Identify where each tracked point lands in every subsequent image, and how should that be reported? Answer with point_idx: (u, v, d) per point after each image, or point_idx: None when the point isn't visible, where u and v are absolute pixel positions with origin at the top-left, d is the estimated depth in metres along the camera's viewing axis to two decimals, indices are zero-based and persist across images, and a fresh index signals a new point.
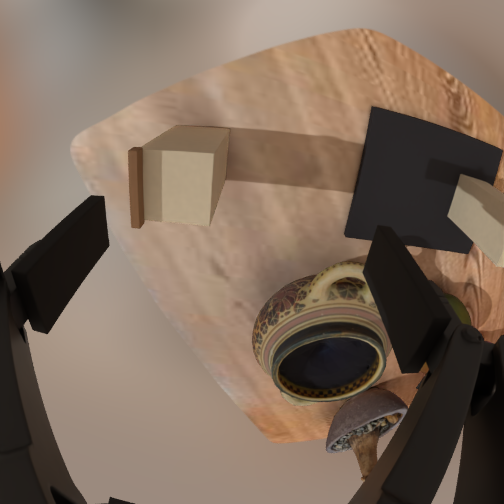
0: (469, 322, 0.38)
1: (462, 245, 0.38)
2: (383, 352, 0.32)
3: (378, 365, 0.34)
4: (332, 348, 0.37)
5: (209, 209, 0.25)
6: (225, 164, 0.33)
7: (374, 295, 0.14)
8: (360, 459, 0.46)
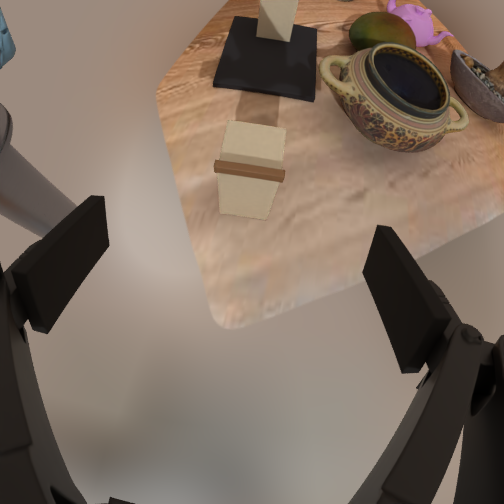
0: None
1: (310, 32, 0.49)
2: (383, 42, 0.35)
3: (398, 48, 0.35)
4: (400, 87, 0.38)
5: (271, 126, 0.31)
6: None
7: (374, 295, 0.14)
8: None
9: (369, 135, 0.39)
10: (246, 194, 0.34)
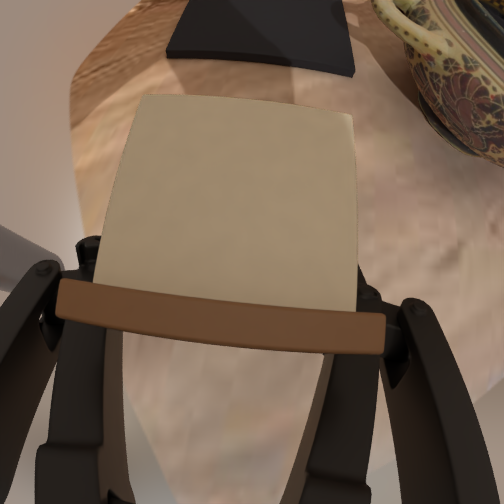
0: None
1: None
2: None
3: None
4: None
5: (301, 107, 0.08)
6: None
7: None
8: None
9: (477, 140, 0.16)
10: None
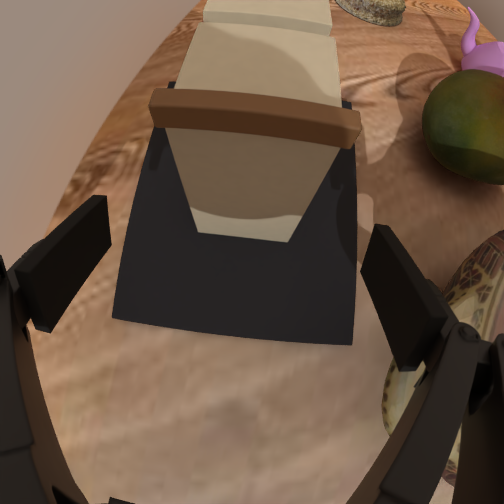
0: (453, 76, 0.20)
1: None
2: None
3: None
4: None
5: (302, 32, 0.11)
6: None
7: (372, 294, 0.14)
8: None
9: None
10: (247, 189, 0.14)
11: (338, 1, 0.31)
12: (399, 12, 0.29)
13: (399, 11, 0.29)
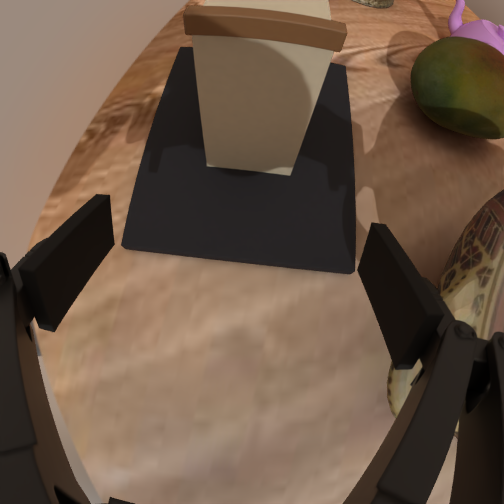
0: (437, 41, 0.21)
1: (335, 75, 0.26)
2: None
3: None
4: None
5: None
6: None
7: (369, 292, 0.14)
8: None
9: None
10: (255, 104, 0.15)
11: None
12: None
13: None
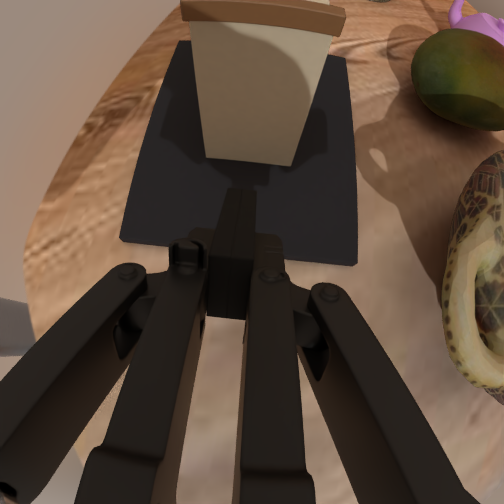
0: (437, 33, 0.20)
1: (335, 67, 0.25)
2: None
3: None
4: None
5: None
6: None
7: None
8: None
9: None
10: (254, 91, 0.15)
11: None
12: None
13: None
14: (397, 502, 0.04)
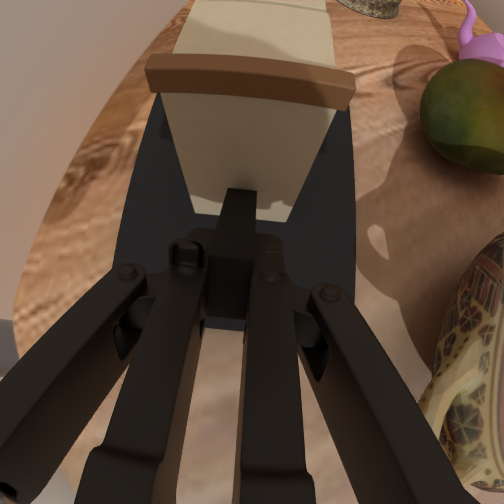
0: (450, 65, 0.19)
1: None
2: None
3: None
4: None
5: (296, 8, 0.11)
6: None
7: None
8: None
9: None
10: (243, 161, 0.14)
11: None
12: (395, 4, 0.28)
13: (395, 3, 0.28)
14: (397, 502, 0.04)
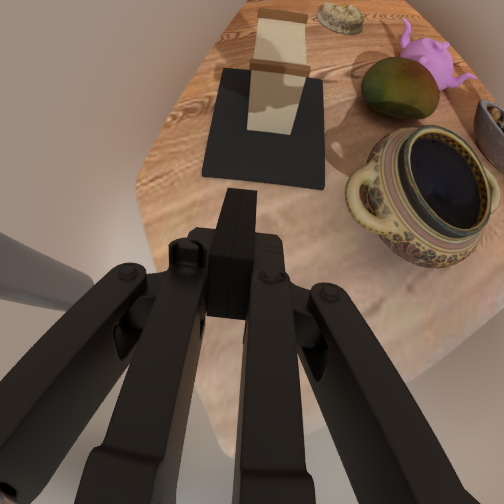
0: (378, 62, 0.40)
1: (315, 86, 0.45)
2: (411, 136, 0.30)
3: (425, 133, 0.31)
4: (433, 183, 0.33)
5: (293, 43, 0.32)
6: None
7: None
8: None
9: None
10: (274, 98, 0.35)
11: (319, 19, 0.51)
12: (359, 25, 0.49)
13: (358, 24, 0.49)
14: (397, 502, 0.04)
